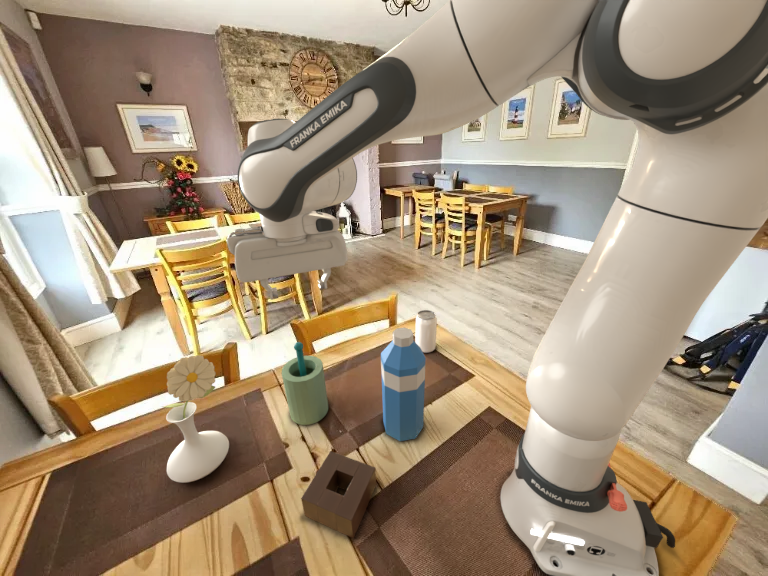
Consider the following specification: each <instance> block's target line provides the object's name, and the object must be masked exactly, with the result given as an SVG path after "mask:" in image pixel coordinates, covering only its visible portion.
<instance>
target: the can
mask: <svg viewBox="0 0 768 576" xmlns="http://www.w3.org/2000/svg"><path fill="white" fill-rule="evenodd" d="M437 327H438V318H437V314H436V313H435V312H434V311H432V310H429V309H423V310H419V311H418V312H417V313H416V316H415V329H414V330H415V333H414V334H415V335H414V337H415V338H414V341H415V343H416V344H417V345H418V346H419V347H420V348H421V350H422V352H423V354H424V353H425V354H429V353H432V352H433V351H435V349H436V347H437V346H436V345H437V331H438V330H437Z"/></svg>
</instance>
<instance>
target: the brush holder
mask: <svg viewBox="0 0 768 576" xmlns="http://www.w3.org/2000/svg"><path fill="white" fill-rule="evenodd" d="M376 472H377V471H376V467H375V466H372V465H369V464H367V463H364V462H361V461H359V460H356V459H353V458H351V457H348V456H345V455H342V454H340V453H337V452H334V451H332V450H330V451H329V452H328V454H327V455H326V457H325V459H324V460H323V463H322V464H321V465H320V467H319V468H318V470H317V472H316V474H315V475H314V477H313V478H312V480H311V481H310V483H309V484H308V486H307V488H306V489H305V492H304V493H303V494H302V496H301V498H300V499H301V504H302V509H303V513H304V517H307V518H308V519H311V520H313V521H314V522H317V523H319V524H321V525H323V526H326V527H328V528H330V529H332V530H334V531H336V532H339V533H341V534H343V535H345V536H347V537H349V538H351V539H355V536H356V533H357V532H358V529H359V527H360V524H361V522H362V520H363V517H364V515H365V512H366V511H367V508H368V505H369V503H370V501H371V499H372V496H373V494H374V491H375V489H376V487H377V473H376ZM339 488H340V489H343V490H345V492H344V495H343V494H341V493H338V492H337V491H338V490H339Z"/></svg>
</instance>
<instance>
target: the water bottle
mask: <svg viewBox="0 0 768 576" xmlns="http://www.w3.org/2000/svg"><path fill="white" fill-rule="evenodd" d="M426 359H427V358H426V356H425V354H424V353H423V352H422V350H421V348H420V347H419V346H418V345H417V344H416V343H415V339H414V333H413V331H412V329H410V328H408V327H398V328H395V329H394V330H393V331H392V340H391V342H390V343H389V344H388V345H387V346H386V347H384V349H383V350H382V351H381V353H380V370H381V371H380V372H381V395H382V396H381V398H382V399H381V400H382V421H383V426H384V430H385V434H386V435H387V436H390V437H391V438H393V439H395V440H397V441H398V442H404V441H409V440H415V439H417V437H418V435H419V434H420V433H421V431H422V430H423V429H424V415H425V414H424V413H425V387H426Z"/></svg>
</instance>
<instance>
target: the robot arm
mask: <svg viewBox="0 0 768 576" xmlns="http://www.w3.org/2000/svg"><path fill="white" fill-rule="evenodd" d="M767 67H768V0H447V1H446V2H445V3H444V4H443V5H442V6H441V7H440V8H439V9H438V10H437V11H435V13H433V14H432V15H431V16H430V17H429V18H428V19H427V20H426V21H424V22H423V23H422V24H421V25H420V26H418V27H417V28H416V29H415V30H414V31H413V32H412V33H410V35H409V34H408V36H407V37H405V39H403V40H402V41H401V42H400V43H399V44H397V45H395V46H394V47H392V48H391V49H390V50H389V51H388V52H386V53H385V54H383V55H382V56H380V57H379V58H378V59H376V60H375V61H373V62H372V63H371V64H370V65H368V66H367V67H365V68H363V69H362V70H360V71H359V72H358V73H356V74H355V75H353V76H352V77H351V78H349V79H348V80H347V81H345V82H344V83H343V84H341V85H339V87H337V88H336V89H335V90H334V91H332V92H331V93H330V94H329V95H327V96H326V97H325V98H324V99H322V100H321V101H320V102H319V103H317V104H316V105H315V106H314V107H313V108H311V109H310V110H308V111H307V113H305V114H304V115H302V116H301V117H300V118H299V119H297V120H296V121H294V120H292V119H288V118H272V119H271V118H270V119H264V120H261V121H257V122H255V123H254V124H253V125H251V126H250V127H249V129H248V132H247V147H246V149H244V152H243V154H242V156H241V159H240V160H239V164H238V168H237V184H238V188H239V191H240V193H241V195H242V197H243V199H244V200H245V202H246V203H247V204H248V205H249V206H250V207H251V208H252V209H253V210H254V211H255V212H257V213H258V214H259V219H260V224H261V225H259V226H252V227H248V228H236V229H234V230H233V231H232V232H230V233H229V234H228V236H227V238H226V244H227V248H228V251H229V253H230V254H232V255H233V256H234V267H235V272H236V277H237V279H238V280H239V281H240V282H241V283H250V282H256V281H259V282H260V286H261V287H262V288H263V289H265V291H266V292H267V293H269V299H270V300H271V301H272V300H276V299H279V294H278V288H277V287H276V286H275V287H273V286H271V285H270V282H269V279H273V278H278V277H279V278H280V277H285V276H291V275H297V274H302V273H308V272H314V271H319V270H320V271H322V272H323V273H322V275H321V278H319V279H317V286H318V290H319V291H323V290H328V281H329V278H330V277H331V274H332V268H338V267H343V266H346V264H347V262H348V261H349V255H348V248H347V244H346V240H345V237H344V235H343V234H342V232H340V231H339V229H340V223H339V219H337V217H335V216H333V215H332V214H329V213H326V212H321V211H318V210H322V209H325V208H328V207H329V208H330V207H332V206H336V205H339V204H341V203H343V202H345V201H347V200H348V199H350V198H351V197H352V196H353V194H354V192H355V190H356V187H357V182H358V169H357V164H356V162H355V160H354V158H355V157H357V156H358V155H359V154H361V153H363V152H364V151H366V150H369V149H371V148H374V147H376V146H379V145H382V144H386V143H389V142H394V141H398V140H405V139H413V138H421V137H431V136H438V135H443V134H445V133H449V132H451V131H454V130H457V129H458V128H461V127H463V126H466V125H467V124H470V123H472V122H474V121H476V120H478V119H480V118H482V117H483V116H485V115H487V114H489V113H490V112H492V111H494V110H495V109H496V108H498V107H499V106H501V105H503V104H505V103H506V102H507V101H509V100H510V99H512V98H513V97H515V96H516V95H518V94H520V93H521V92H523V91H524V90H526V89H528V88H530V87H531V86H534V85H536V84H537V83H539V82H542V81H544V80H546V79H547V80H548V79H549V78H555V77H561V78H562V80H563V81H564V82H565V83H566V84H567V85H568V86H569V87H570V88H571V90H572V91H573V92H574V93H575V95H577V97H578V98H579V100H580V101H581V102H582V103H583V104H584V105H585V106H586V107H587V108H588V109H590V111H593V112H594V113H595V114H598V115H600V116H603V117H605V118H610V119H614V120H621V121H632V122H633V124H634V126H635V127H636V130H637V135H638V143H637V150H636V153H635V156H634V159H633V165H632V167H631V169H630V170H629V172H628V174H627V176H626V178H625V180H624V181H623V182H622V185H621V187H620V189H619V191H618V193H617V195H616V197H615V199H614V201H613V203H612V205H611V207H610V209H609V210H608V214H607V215H606V217H605V219H604V222H603V224H602V225H601V227H600V228H599V231H598V233H597V235H596V237H595V240H594V242H593V244H592V246H591V247H590V250H589V252H588V254H587V256H586V258H585V260H584V262H583V263H582V266H581V267H580V268H579V271H578V273H577V274H576V275H575V278H574V280H573V282H572V283H571V285H570V287H569V288H568V290H567V293H566V294H565V296H564V298H563V299H562V302H561V303H560V305H559V307H558V309H557V310H556V312H555V314H554V315H553V318H552V320H551V322H550V323H549V325H548V327H547V329H546V331H545V333H544V335H543V336H542V339H541V341H540V342H539V344H538V346H537V349H536V351H535V352H534V354H533V357H532V359H531V362H530V366H529V369H528V373H527V376H526V380H525V381H526V382H525V393H526V397H527V400H528V403H529V405H530V409H529V413H528V418H527V421H526V426H525V430H524V433H523V434H522V435H521V437H520V439H519V443H518V445H517V448H516V452H515V458H514V467H513V470H512V472H511V473H510V475H509V476H508V477H507V478H506V479H505V481H504V482H503V484H502V486H501V489H500V497H499V498H500V506H501V510H502V513H503V516H504V518H505V521H506V522H507V524H508V525H509V527H510V529H511V530H512V531H513V533H514V534H515V535H516V536H517V537H518V538H519V539H520V541H521V542H522V543H523V544H524V545H525V546H526V547H527V548H528V549H529V551H530V553H531V555H532V556H533V559H534V560H535V562H536V564H537V565H538V567H539V568H540V570H541V571H542V572H543V573H545V574H547V575H549V576H659V575H660V571H659V563H658V557H657V553H656V550H655V549H657V548H658V547H659V545H660V543H661V541H662V540H663V538H664V536H665V537H666V545H667V546H668V547H669V548H671V549H674V548H676V537H675V535H674V533H673V532H672V531H671V530H670V529H668V528H667V527H666V526H663V525H662V524H660V523H658V522H657V521H656V519H655V516H654V515H653V513H652V510H651V509H650V507H649V504H648V503H647V502H646V501H642V500H637V499H633V497H632V496H631V493H629V492H628V490H627V489H626V488H625V487H624V486H623V485H622V484H620V483H619V482H618V479H617V475H616V473H615V471H614V470H613V469H612V466H611V462H610V461H611V459H612V456H613V454H614V451H615V450H616V447H617V444H618V442H619V440H620V437H621V433H622V430H623V428H624V427H625V426H626V425H627V424H628V422H629V421H630V419H631V418H632V416H633V414H634V413H635V412H636V410H637V409H638V408H639V406H640V404H641V403H642V401H643V399H644V398H645V397H646V395H647V394H648V392H649V391H650V390H651V388H652V386H653V385H654V384H655V382H656V381H657V379H658V377H659V376H660V374H661V373H662V371H663V370H664V368H665V367H666V365H667V363H668V362H669V360H670V359H671V358H672V355H673V354H674V352H675V351H676V349H677V347H678V346H679V344H680V342H681V341H682V339H683V337H684V336H685V334H686V332H687V331H688V329H689V327H690V325H691V324H692V322H693V320H694V318H695V317H696V315H697V313H698V312H699V310H700V308H701V307H702V305H703V304H704V303H705V301H706V300H707V298H708V297H709V296H710V294H711V293H712V292H713V291H714V289H715V287H717V285H718V284H719V283H720V281H721V280H722V279H723V277H724V276H725V275H726V273H727V272H728V271H729V269H731V267H732V265H733V264H734V263H736V260H737V259H738V258H739V256H740V255H741V254H742V252H744V250H745V249H746V247H748V245H749V244H750V242H752V239H753V238H754V237H755V236H756V234H757V233H758V232H759V231H760V229H761V228H762V227H763V226H764V224H765V222H766V221H767V220H768V68H767ZM663 535H664V536H663ZM556 565H557V566H556Z"/></svg>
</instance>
